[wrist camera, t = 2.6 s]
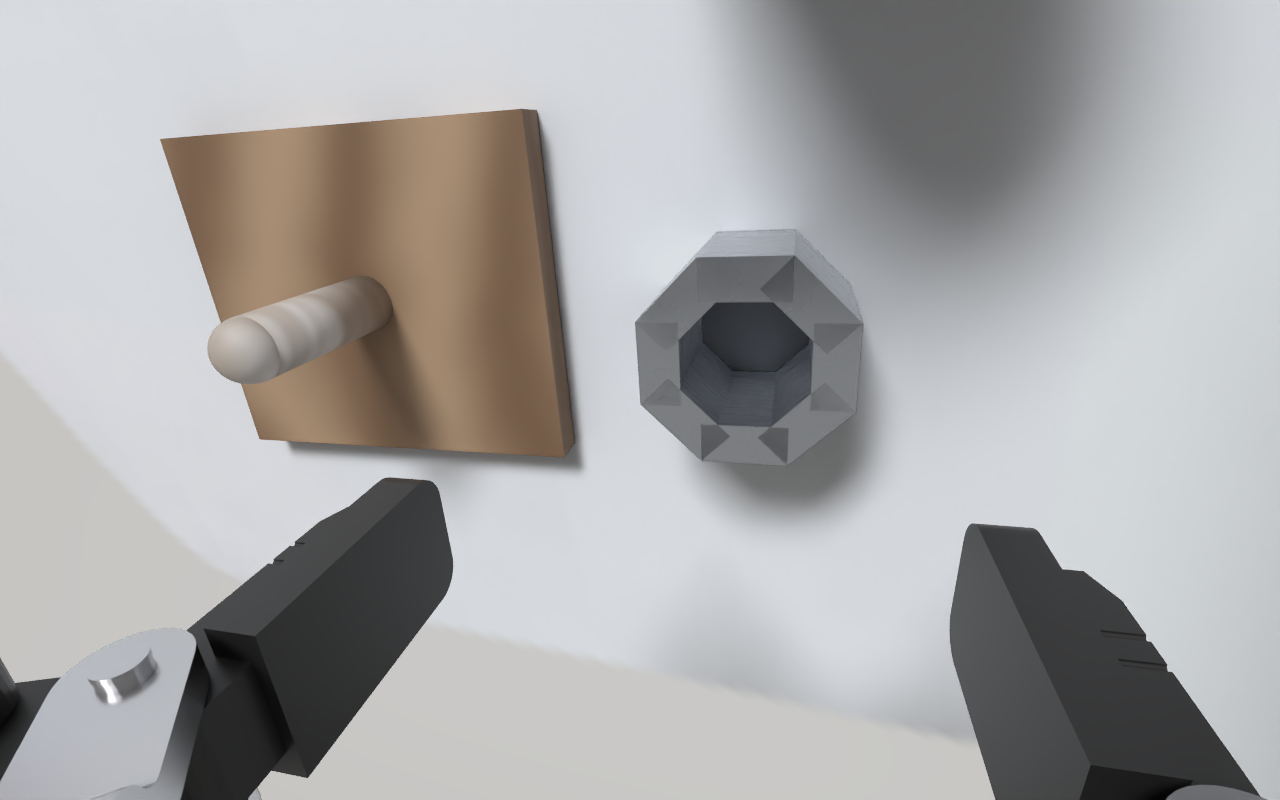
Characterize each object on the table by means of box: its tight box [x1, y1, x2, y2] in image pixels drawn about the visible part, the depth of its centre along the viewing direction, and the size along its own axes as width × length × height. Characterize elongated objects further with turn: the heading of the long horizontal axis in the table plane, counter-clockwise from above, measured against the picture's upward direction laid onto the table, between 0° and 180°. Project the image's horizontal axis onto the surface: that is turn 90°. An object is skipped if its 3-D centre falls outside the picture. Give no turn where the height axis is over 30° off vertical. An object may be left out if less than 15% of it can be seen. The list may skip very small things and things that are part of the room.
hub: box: [635, 230, 863, 466], centre depth 19 cm, size 6×6×4 cm
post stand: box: [160, 109, 574, 457], centre depth 20 cm, size 14×12×8 cm
